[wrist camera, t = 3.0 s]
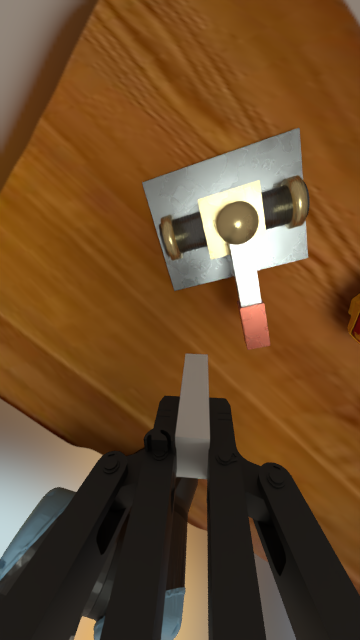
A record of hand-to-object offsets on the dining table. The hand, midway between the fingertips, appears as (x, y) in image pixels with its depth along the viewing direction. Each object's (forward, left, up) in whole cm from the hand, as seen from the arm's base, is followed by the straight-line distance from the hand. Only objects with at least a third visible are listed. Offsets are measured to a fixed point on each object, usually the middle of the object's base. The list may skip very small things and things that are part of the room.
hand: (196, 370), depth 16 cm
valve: (+6, +8, -19) cm, 22 cm away
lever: (+6, +2, -12) cm, 14 cm away
